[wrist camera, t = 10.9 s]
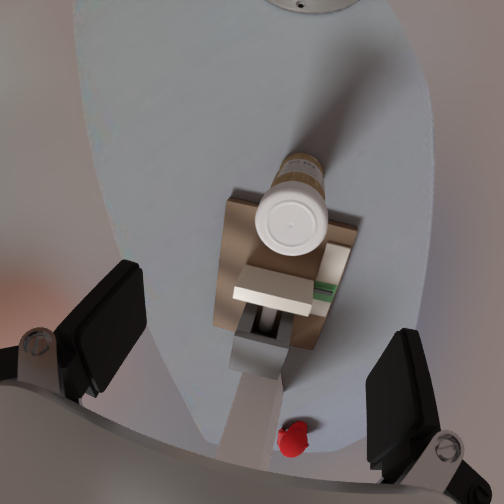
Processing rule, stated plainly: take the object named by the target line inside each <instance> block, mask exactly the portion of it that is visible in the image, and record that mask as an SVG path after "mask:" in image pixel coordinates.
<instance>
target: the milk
mask: <svg viewBox="0 0 504 504" xmlns="http://www.w3.org/2000/svg"><path fill="white" fill-rule="evenodd" d="M282 399H283V386H282V379H281V373H280V375H279V377H278V380H273V379H269V378H265V377H261V376H257V375H253V374H249V373H245V372H242V375H241V378H240V382H239V385H238V388H237V391H236V395H235V398H234V401H233V404H232V407H231V410H230V413H229V417H228V420H227V423H226V426H225V429H224V432H223V435H222V438H221V441H220V444H219V447H218V450H217V454H216V457H215V459H216V460H220V461H224V462H227V463H231V464H235V465H239V466H244V467H248V468H252V469H257V470H262V471H267V472H268V468H269V464H270V459H271V454H272V450H273V445H274V440H275V435H276V430H277V425H278V420H279V415H280V409H281V404H282Z"/></svg>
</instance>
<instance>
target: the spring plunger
mask: <svg viewBox="0 0 504 504" xmlns="http://www.w3.org/2000/svg"><path fill="white" fill-rule="evenodd" d="M313 292H316V293H320V294H324V295H329V296H332V294H333V291H329V290H325V289H321V288H316V287H314V281H313V280H308V279H304V278H300V277H296V276H292V275H287V274H283V273H279V272H275V271H271V270H267V269H262V268H258V267H254V266H250V265H246V264H244V266H243V268H242V271H241V273H240V275H239V277H238V280H237V282H236V284H235V287H234V293H233V298H234V299H238V300H241V301H245V302H249V303H253V304H257V305H261V306H263V310H262V315H261V319H260V323H259V329H260V330H261V331H262V332H266V333H267V332H270V331H271V330H272V327H273V324H274V320H275V316H276V313H277V309H278V310H282V311H286V312H290V313H294V314H299V315H303V316H307V317H308V315H309V313H310V310H311V307H312V301H313Z"/></svg>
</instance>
